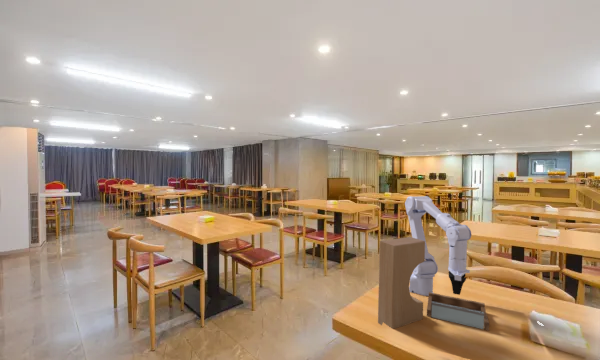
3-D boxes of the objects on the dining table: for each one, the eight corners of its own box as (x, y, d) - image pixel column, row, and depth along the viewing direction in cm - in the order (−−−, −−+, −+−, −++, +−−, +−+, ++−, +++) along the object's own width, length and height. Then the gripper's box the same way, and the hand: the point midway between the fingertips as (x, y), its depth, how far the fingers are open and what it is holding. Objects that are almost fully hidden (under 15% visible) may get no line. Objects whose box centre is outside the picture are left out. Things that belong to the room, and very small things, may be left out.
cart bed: (426, 320, 102) (427, 306, 102) (428, 304, 114) (428, 292, 114) (488, 335, 93) (489, 320, 93) (483, 315, 106) (484, 303, 105)
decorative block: (392, 333, 94) (394, 246, 93) (377, 322, 100) (379, 240, 99) (423, 322, 100) (425, 241, 99) (406, 313, 107) (409, 236, 106)
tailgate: (431, 317, 102) (431, 302, 101) (431, 315, 103) (431, 301, 102) (483, 329, 94) (484, 313, 94) (483, 327, 95) (483, 312, 95)
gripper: (471, 264, 95) (470, 303, 96) (468, 253, 108) (467, 287, 109) (448, 261, 99) (447, 298, 99) (448, 251, 111) (447, 284, 112)
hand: (456, 292), depth 104 cm, fingers closed
